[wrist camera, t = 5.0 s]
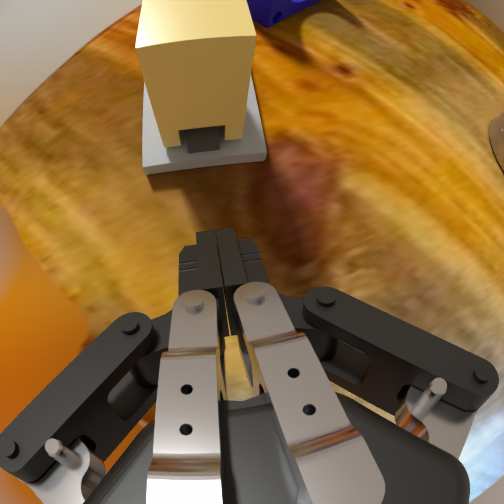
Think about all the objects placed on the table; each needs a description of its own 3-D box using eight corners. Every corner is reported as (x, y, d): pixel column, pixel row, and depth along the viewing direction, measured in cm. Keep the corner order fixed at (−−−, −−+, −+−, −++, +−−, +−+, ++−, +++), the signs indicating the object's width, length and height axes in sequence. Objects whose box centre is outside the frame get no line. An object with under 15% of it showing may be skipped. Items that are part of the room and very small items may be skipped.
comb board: (236, 21, 24) (239, -21, 19) (264, 160, 21) (277, 117, 16) (151, 29, 23) (144, -12, 18) (146, 174, 20) (126, 134, 15)
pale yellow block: (232, 82, 20) (241, -17, 12) (242, 138, 19) (256, 35, 11) (163, 90, 20) (144, -7, 11) (164, 148, 19) (135, 48, 10)
